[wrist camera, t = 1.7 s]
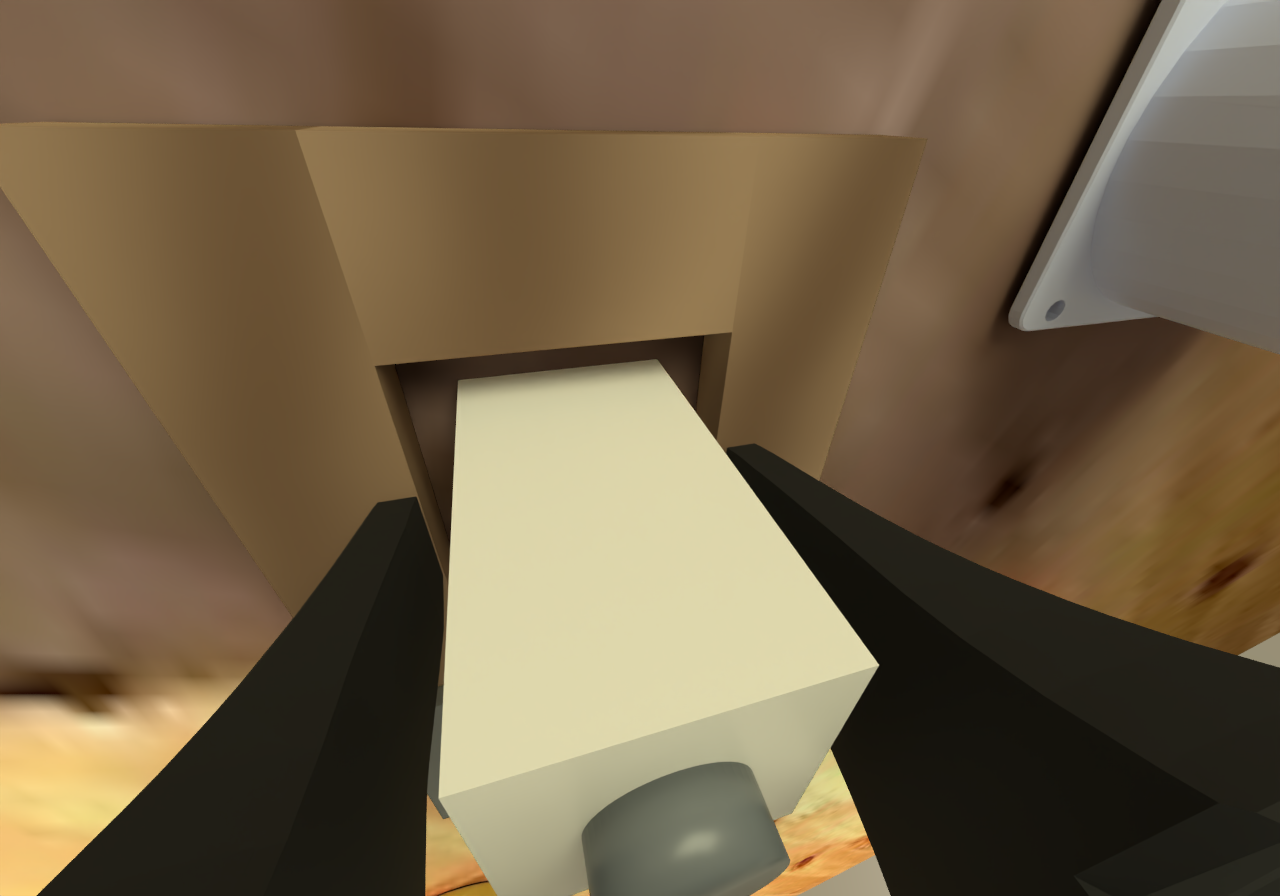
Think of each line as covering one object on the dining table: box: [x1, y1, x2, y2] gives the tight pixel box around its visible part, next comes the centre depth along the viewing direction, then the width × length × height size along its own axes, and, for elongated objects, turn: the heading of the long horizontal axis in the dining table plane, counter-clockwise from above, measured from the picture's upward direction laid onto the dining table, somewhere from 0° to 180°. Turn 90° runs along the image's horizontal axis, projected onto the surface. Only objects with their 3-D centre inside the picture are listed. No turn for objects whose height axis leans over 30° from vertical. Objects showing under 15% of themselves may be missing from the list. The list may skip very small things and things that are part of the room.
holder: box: [0, 122, 927, 686], centre depth 10 cm, size 12×12×1 cm
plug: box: [438, 359, 879, 896], centre depth 8 cm, size 4×4×8 cm
